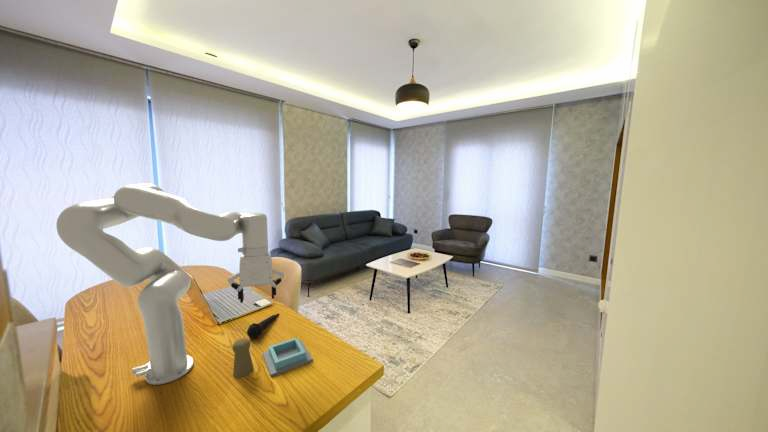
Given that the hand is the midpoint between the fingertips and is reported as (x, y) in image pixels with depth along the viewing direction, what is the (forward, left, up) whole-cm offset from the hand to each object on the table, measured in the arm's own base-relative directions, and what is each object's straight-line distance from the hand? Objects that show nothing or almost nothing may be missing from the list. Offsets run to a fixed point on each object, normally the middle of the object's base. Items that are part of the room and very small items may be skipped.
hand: (257, 299), depth 95 cm
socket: (+8, -4, -23) cm, 24 cm away
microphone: (+6, +20, -23) cm, 31 cm away
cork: (-6, -3, -23) cm, 24 cm away
